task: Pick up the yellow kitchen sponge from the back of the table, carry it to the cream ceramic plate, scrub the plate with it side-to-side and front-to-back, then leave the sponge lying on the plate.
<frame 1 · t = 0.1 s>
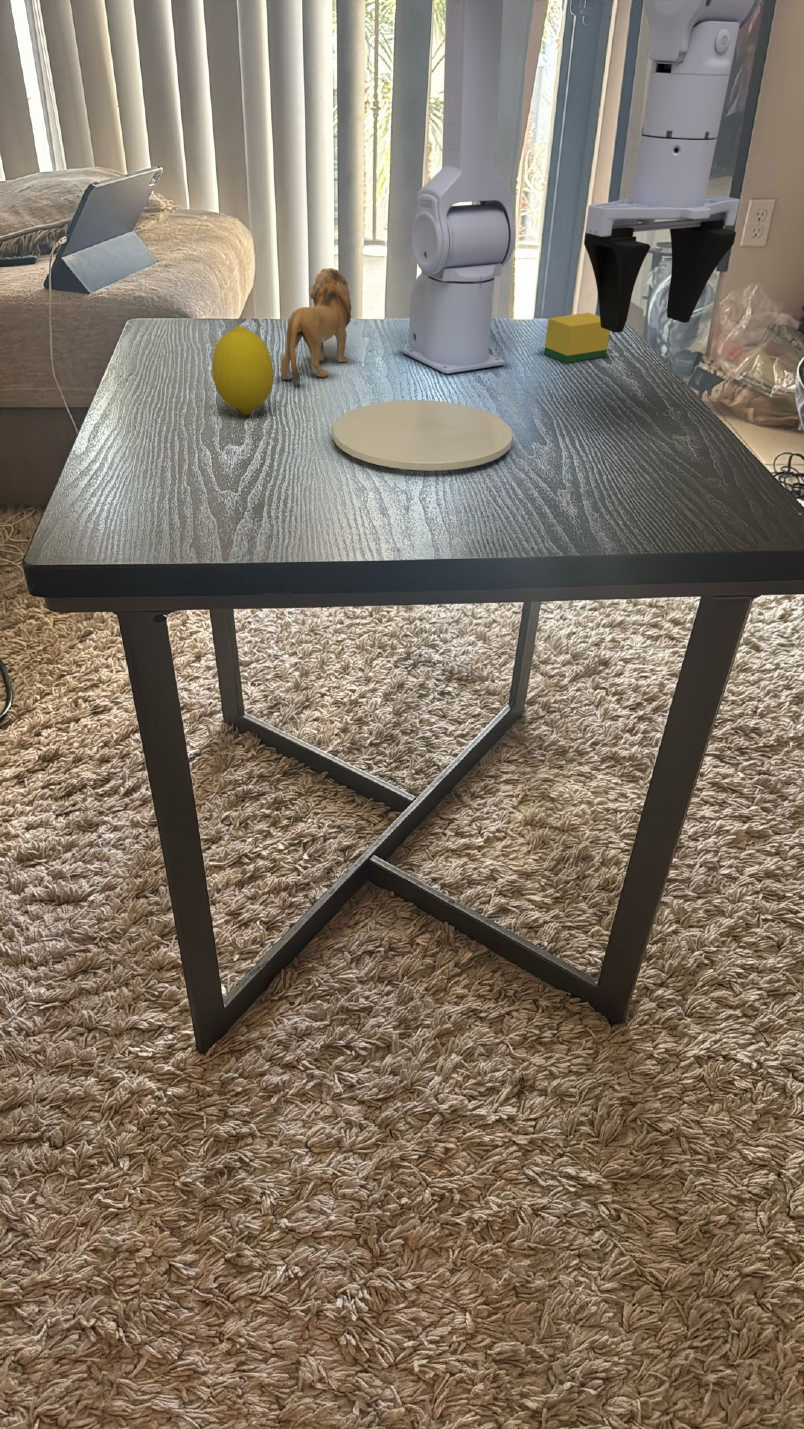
hand: (645, 324, 78), 10 cm above the table, tool pointing down, fingers open, 7 cm apart
lion figurine: (316, 368, 100), on the table
plate: (422, 443, 82), on the table
sponge: (575, 355, 106), on the table
lemon: (246, 416, 87), on the table
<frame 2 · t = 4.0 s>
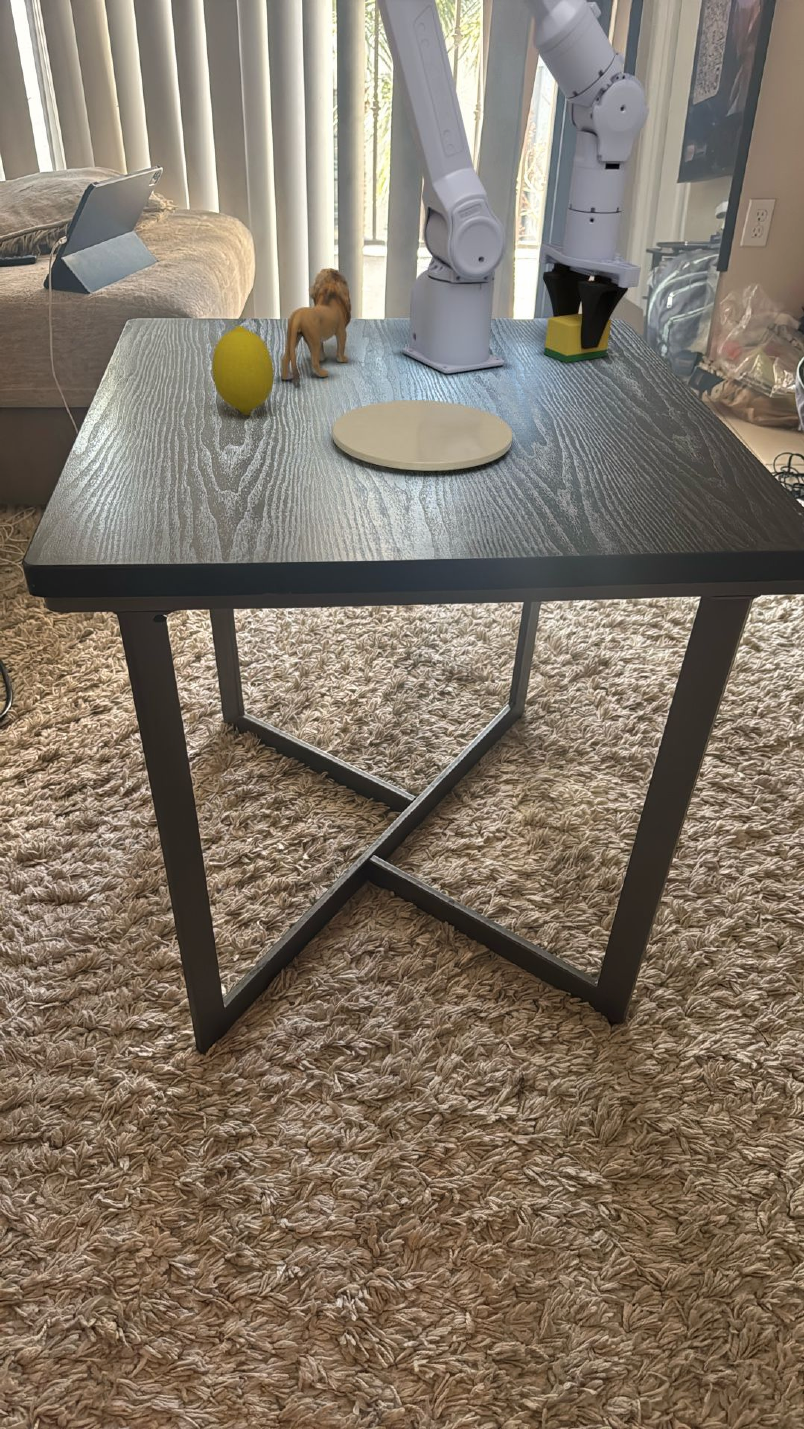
hand: (576, 342, 105), 1 cm above the table, tool pointing down, fingers closed on sponge, 4 cm apart
sponge: (574, 355, 106), on the table, touching gripper
everything else where it was.
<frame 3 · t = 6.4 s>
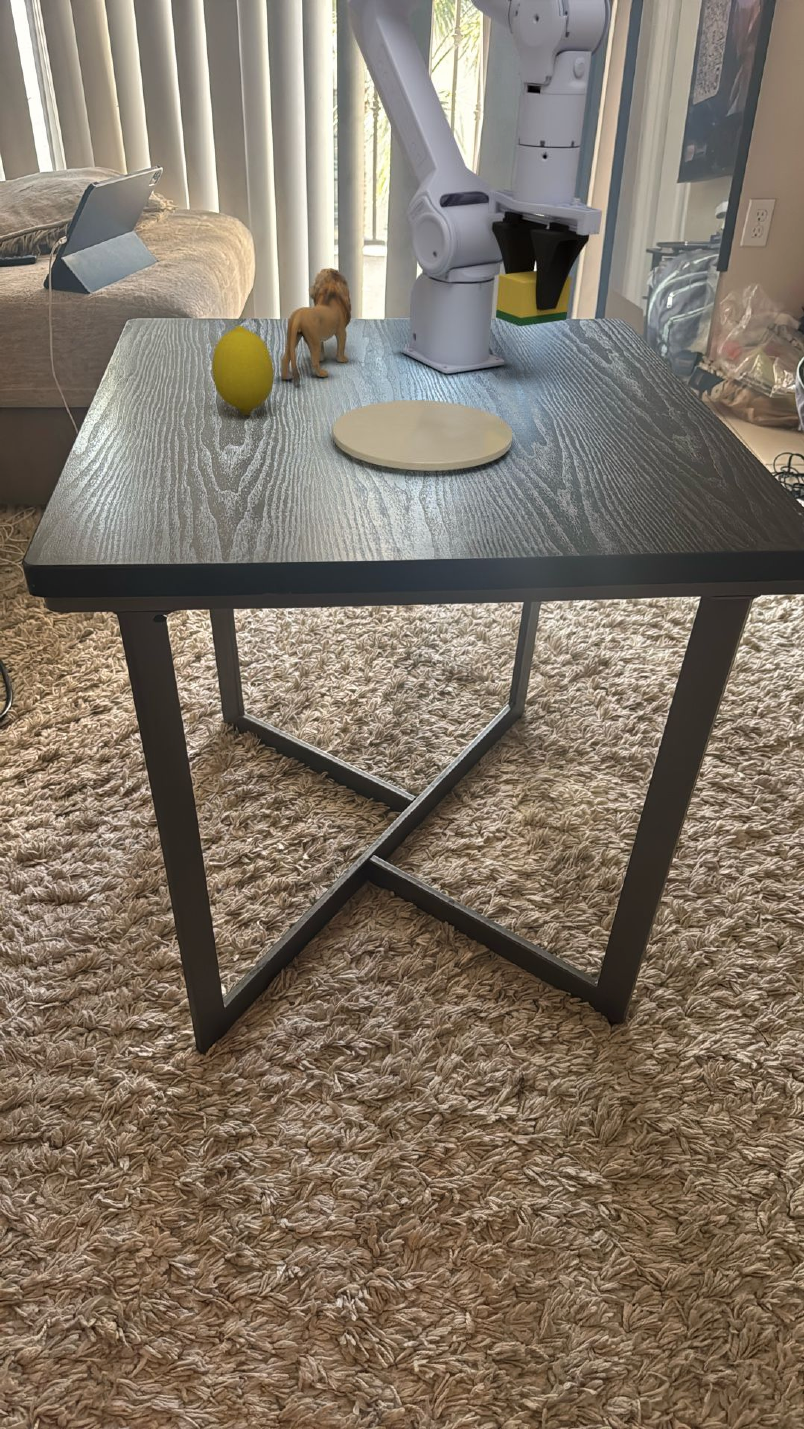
hand: (532, 304, 91), 8 cm above the table, tool pointing down, fingers closed on sponge, 4 cm apart
sponge: (530, 318, 92), point 7 cm above the table, touching gripper
everything else where it was.
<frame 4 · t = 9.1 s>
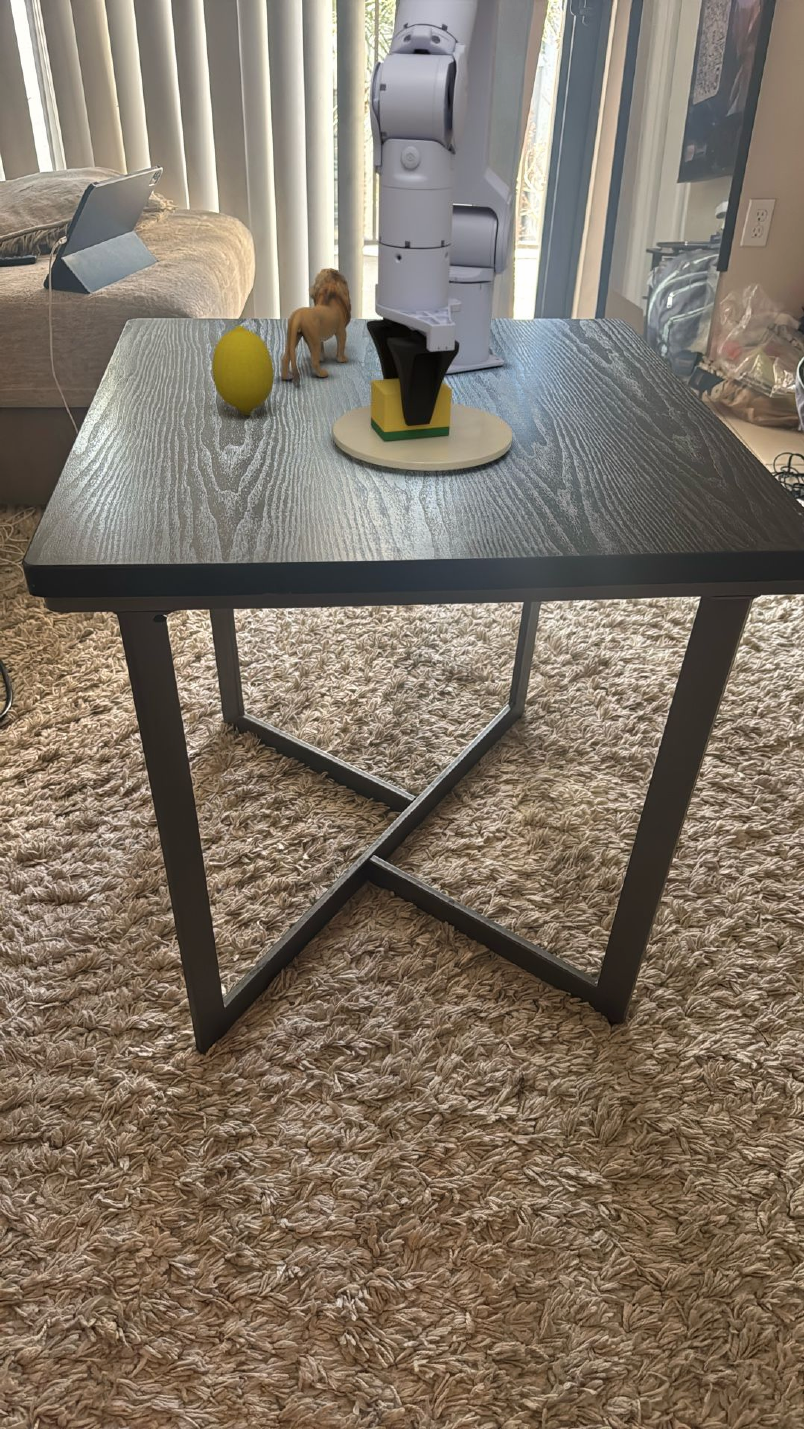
hand: (409, 415, 79), 3 cm above the table, tool pointing down, fingers closed on sponge, 4 cm apart
sponge: (409, 430, 80), point 1 cm above the table, touching gripper
everything else where it was.
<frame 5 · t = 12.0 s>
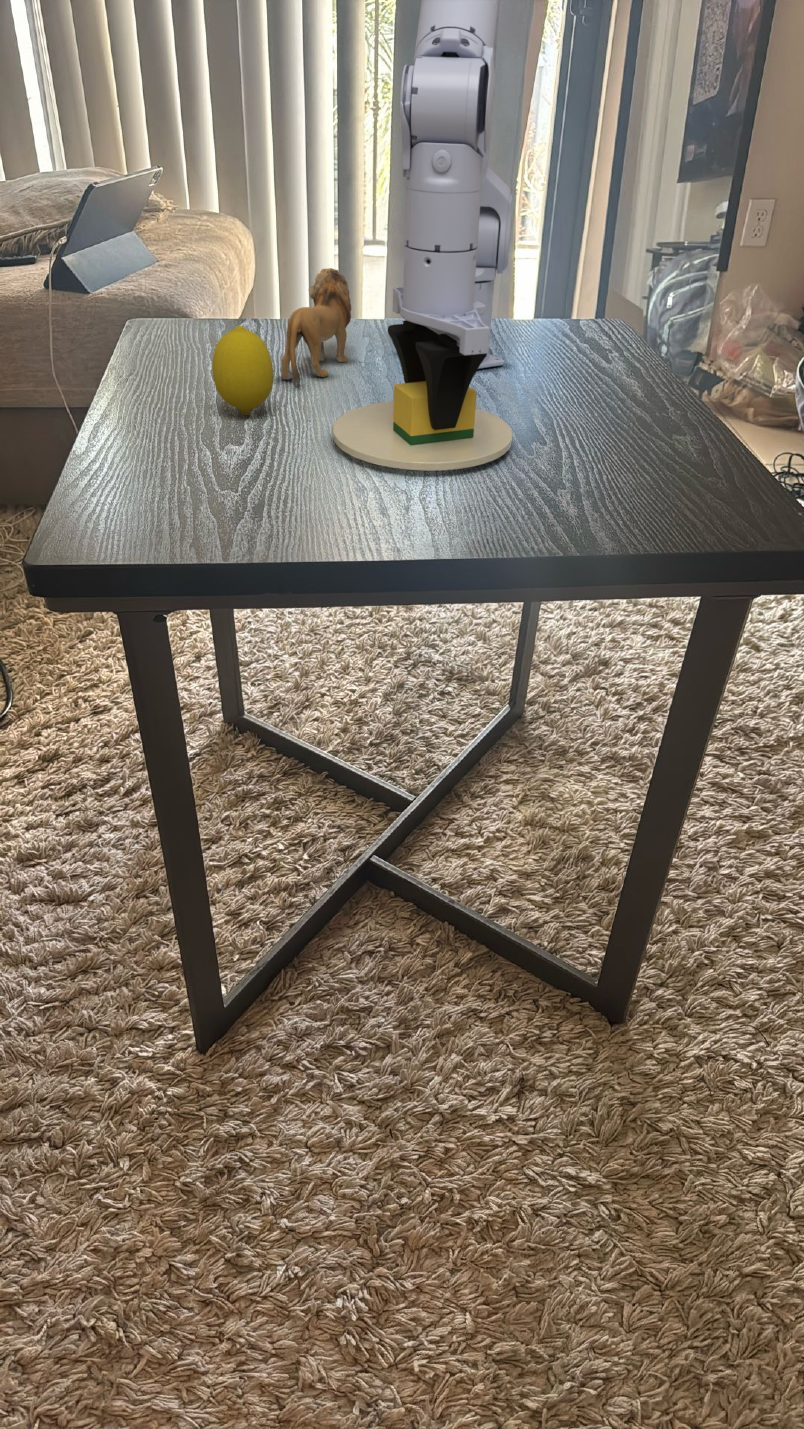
hand: (432, 419, 79), 3 cm above the table, tool pointing down, fingers closed on sponge, 4 cm apart
sponge: (433, 434, 80), point 1 cm above the table, touching gripper, plate
everything else where it was.
when the fingers open (3 cm above the table, at t = 14.1 s): sponge stays where it is, resting on plate.
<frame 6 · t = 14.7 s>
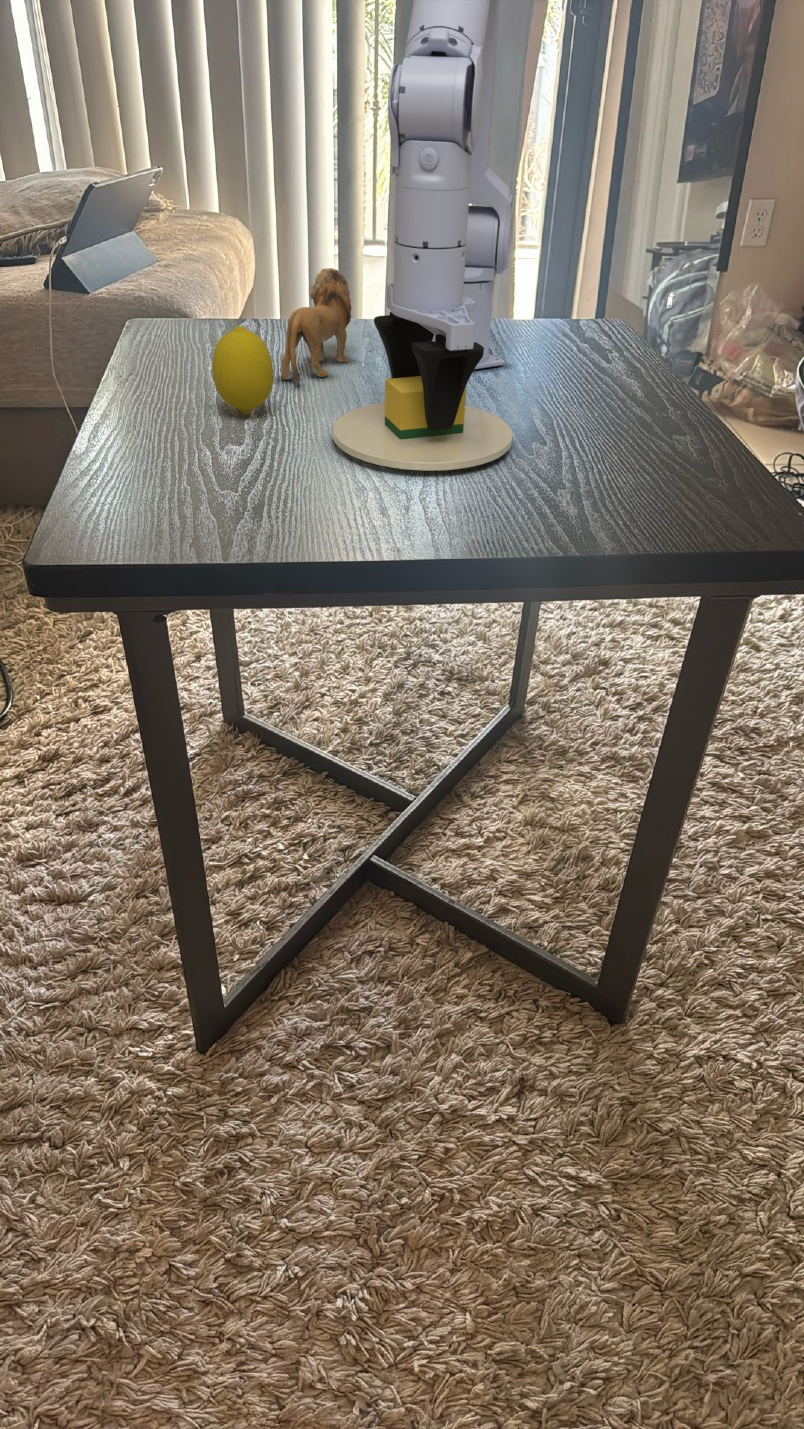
hand: (423, 414, 80), 3 cm above the table, tool pointing down, fingers open, 7 cm apart
sponge: (423, 428, 81), point 1 cm above the table, touching plate
everything else where it was.
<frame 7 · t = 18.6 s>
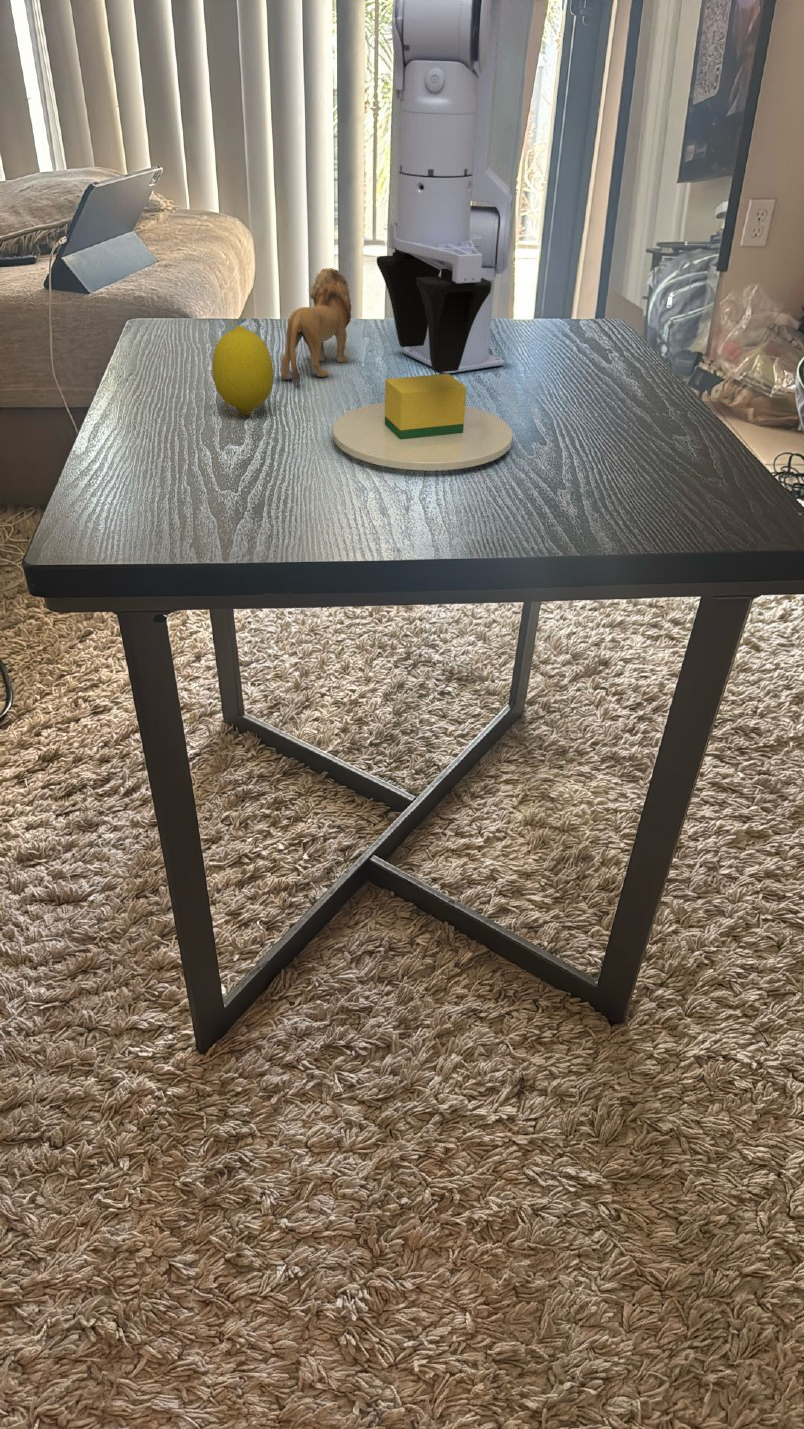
hand: (427, 357, 78), 7 cm above the table, tool pointing down, fingers open, 7 cm apart
nothing on the table moved.
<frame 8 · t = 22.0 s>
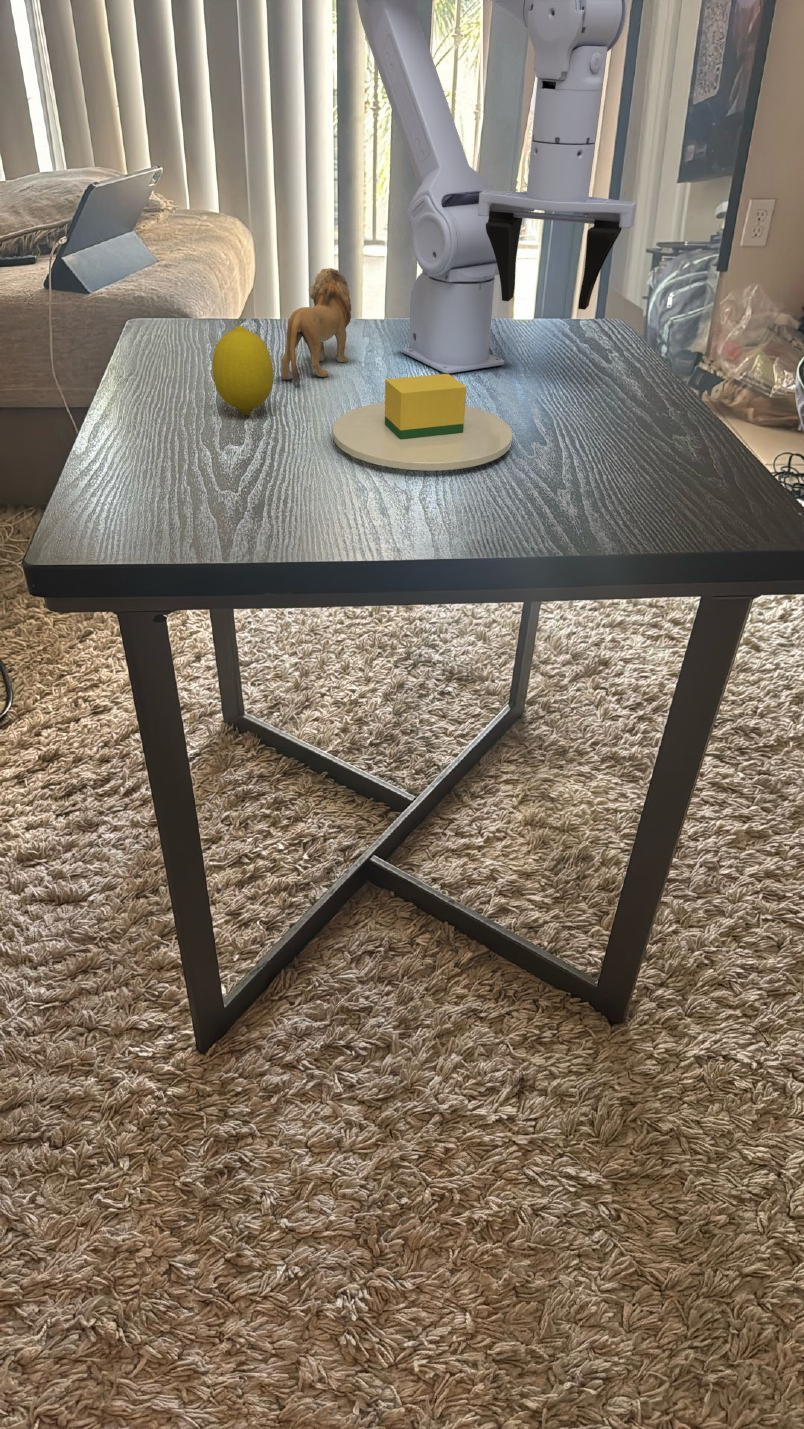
hand: (545, 303, 90), 8 cm above the table, tool pointing down, fingers open, 7 cm apart
nothing on the table moved.
at the end: sponge inside the target area on the plate (0.1 cm from its centre), point 1.3 cm above the plate's base; sponge touching plate; the gripper is holding nothing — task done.
